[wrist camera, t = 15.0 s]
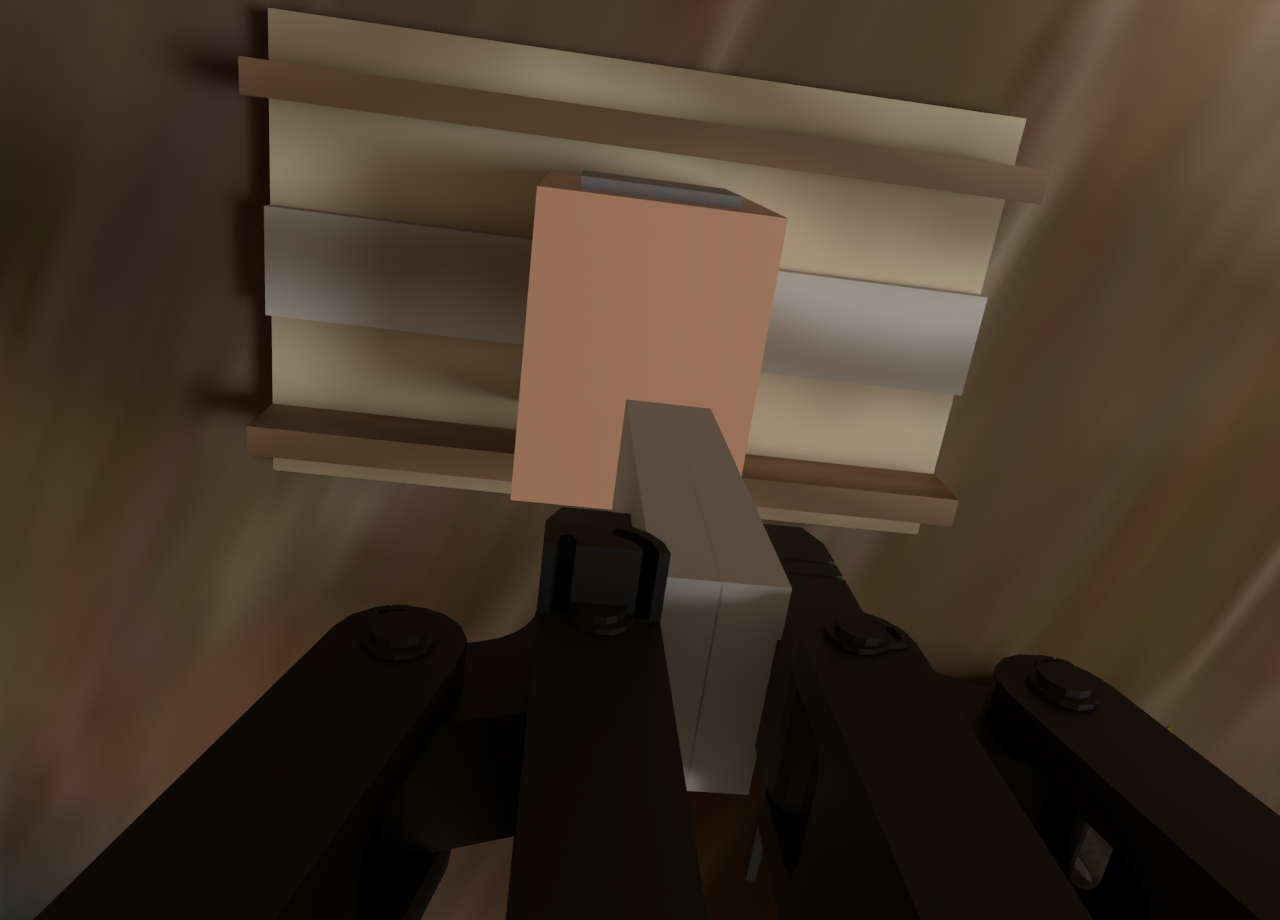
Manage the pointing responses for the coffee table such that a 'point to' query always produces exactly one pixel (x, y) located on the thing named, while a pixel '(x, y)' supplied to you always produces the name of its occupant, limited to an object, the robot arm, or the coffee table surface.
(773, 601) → the robot arm
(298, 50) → the rail mount
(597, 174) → the block
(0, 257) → the coffee table surface
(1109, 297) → the coffee table surface
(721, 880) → the coffee table surface
